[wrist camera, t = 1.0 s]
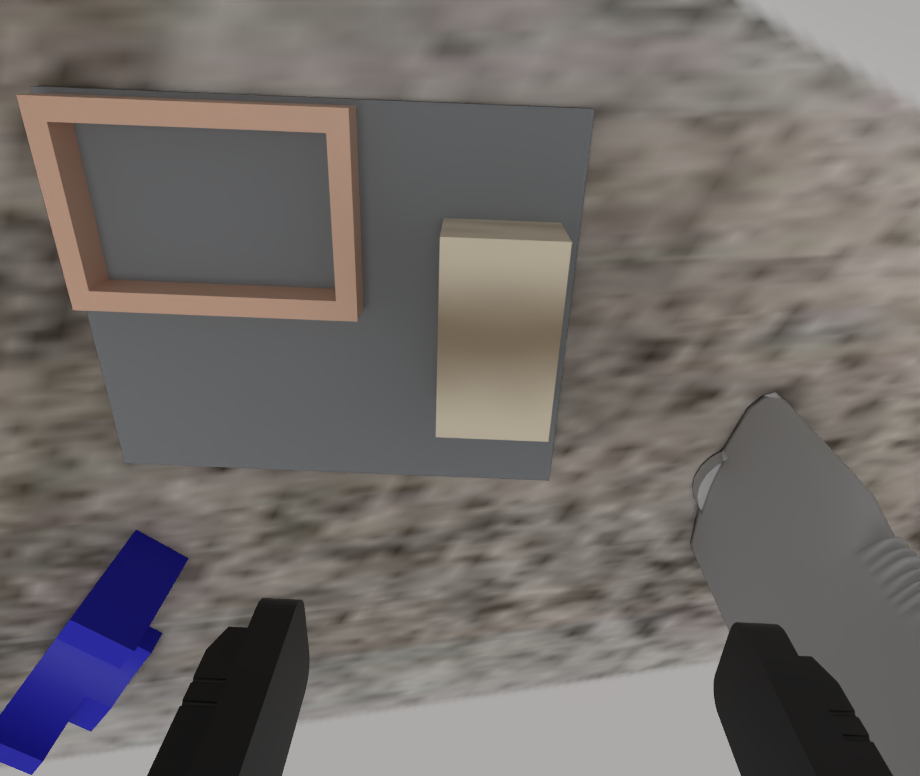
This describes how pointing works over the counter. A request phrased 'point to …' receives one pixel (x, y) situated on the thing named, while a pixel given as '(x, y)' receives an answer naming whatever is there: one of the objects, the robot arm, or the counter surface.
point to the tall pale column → (815, 567)
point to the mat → (312, 279)
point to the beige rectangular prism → (499, 327)
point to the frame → (62, 160)
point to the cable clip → (91, 653)
